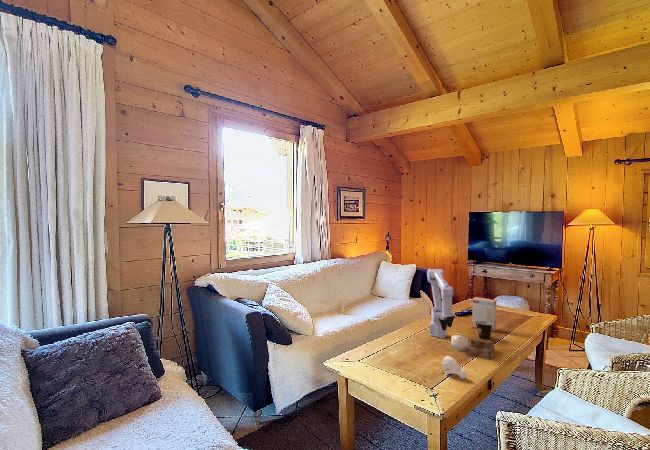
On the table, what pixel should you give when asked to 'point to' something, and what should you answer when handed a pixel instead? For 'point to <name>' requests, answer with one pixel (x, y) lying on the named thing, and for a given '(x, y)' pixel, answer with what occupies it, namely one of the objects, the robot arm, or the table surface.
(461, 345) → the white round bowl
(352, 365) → the table surface
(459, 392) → the table surface
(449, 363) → the white rounded piece
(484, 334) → the coffee mug
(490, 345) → the cradle
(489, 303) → the cracker box
